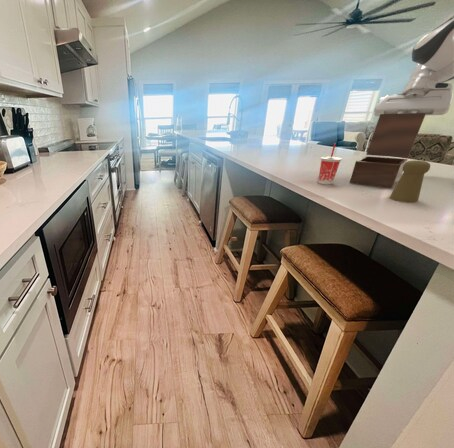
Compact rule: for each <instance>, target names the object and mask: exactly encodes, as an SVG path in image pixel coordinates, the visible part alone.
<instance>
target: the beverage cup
mask: <svg viewBox="0 0 454 448" xmlns="http://www.w3.org/2000/svg"><path fill="white" fill-rule="evenodd" d="M335 148H336V142H334V143H333V147H332V150H331V154H330V156H322V157H320V166H319V172H318V178H317V183H318V184H321V185H332V184H334V180H335V177H336V176H337V175H336V174H337V172H338V169H339V165H340V163H341V162H342V159H343V158H341V157H338V156H334V152H335Z"/></svg>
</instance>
